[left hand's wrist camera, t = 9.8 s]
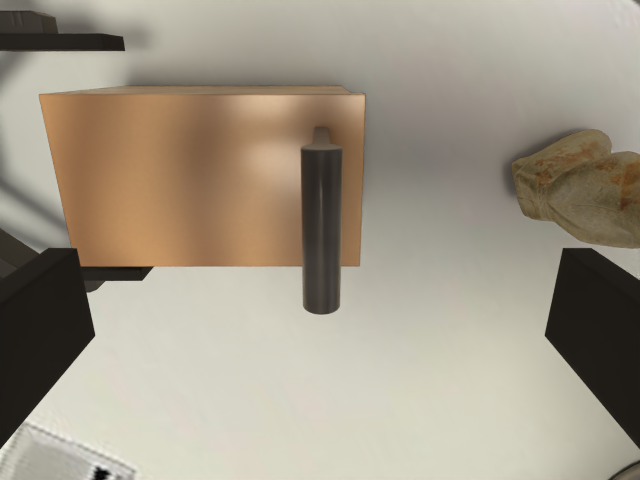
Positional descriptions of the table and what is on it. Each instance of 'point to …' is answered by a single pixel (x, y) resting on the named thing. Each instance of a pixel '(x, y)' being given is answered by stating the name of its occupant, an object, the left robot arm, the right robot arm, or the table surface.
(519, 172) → the sculpture
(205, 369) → the table surface
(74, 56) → the table surface
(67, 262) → the left robot arm
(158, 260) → the lid
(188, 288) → the table surface
